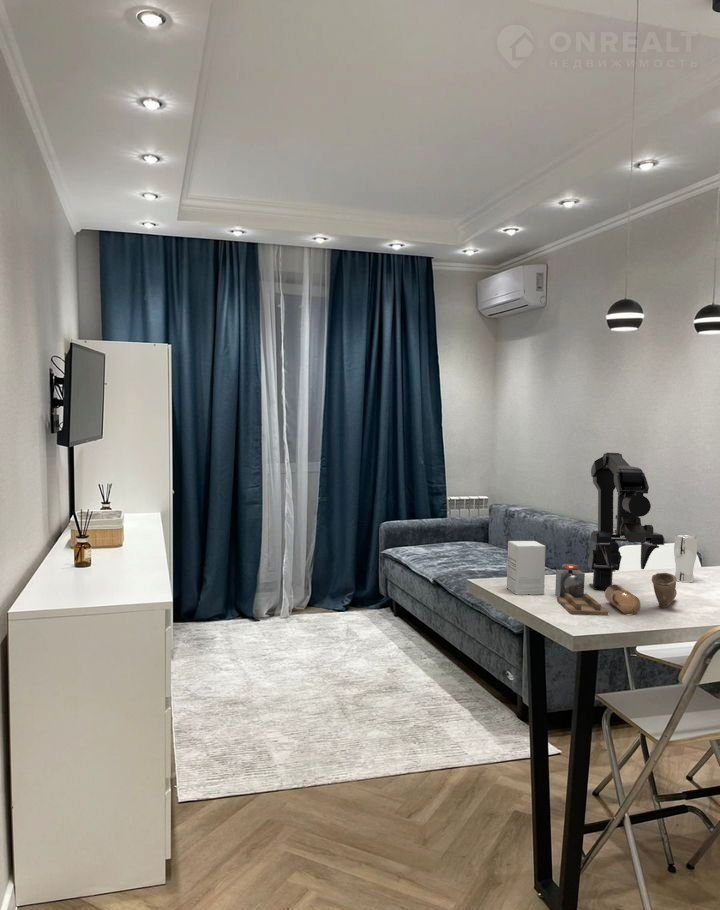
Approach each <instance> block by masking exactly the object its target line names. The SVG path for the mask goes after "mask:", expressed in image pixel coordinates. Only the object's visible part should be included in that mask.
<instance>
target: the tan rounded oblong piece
mask: <svg viewBox="0 0 720 910" xmlns="http://www.w3.org/2000/svg"><path fill="white" fill-rule="evenodd" d="M604 591H605V592H604V597H605V599H606V601H607V602H609V603H610V604H611V605H612V606H614V607H615V608H616V609H618V610H619V611H621V612H622V613H623V614H624V615H626V614H634V615H635V614H637V613H639V611H640V609H641V605H642V604H641V601H640V598H638V597H637V596H636V595H634V594H633V593H631V592H629V590H627V589H625V588H624V587H622V586H621V585H619V584H616V583H614V584H612V585H610V586H609V587H608V588H607V589H606V590H604Z"/></svg>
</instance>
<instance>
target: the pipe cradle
mask: <svg viewBox="0 0 720 910" xmlns="http://www.w3.org/2000/svg"><path fill="white" fill-rule="evenodd" d="M556 601H557V603H558V604H560V605H561V606H562V607H563V609H565V611H567V612H568V613H569V614H570V615H579V616H583V615H584V616H609V611H608V610H607V609H606V608H604V607H603V605H602V606H601V604H600V603H599V602H598V601H597V600H595V598H594V597H591V596H590V595H589V594H588V593H584V594H583V597H582V598H574V597H573V596H571V595H570V594H569V593H565V596H564V598H558V597H557V596H556Z"/></svg>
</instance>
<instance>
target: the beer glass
mask: <svg viewBox="0 0 720 910" xmlns="http://www.w3.org/2000/svg"><path fill="white" fill-rule="evenodd" d="M697 553H698V537H697V536H694V535H688V534H675V536H674V546H673V557H674V563H675V572H674V576H675V577H676V579H677V581H676V582H679V583H684V582H685V583H687V584H690V582H692V583H694V582H695V579H694V568H695V563H696V560H697V559H696V558H697Z"/></svg>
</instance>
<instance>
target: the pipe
mask: <svg viewBox="0 0 720 910" xmlns="http://www.w3.org/2000/svg"><path fill="white" fill-rule="evenodd" d="M651 576H652V577H651V582H652V586H653V590H654V596H655V597H656V600H657V603H658V605H659V607H660V608H662V609H666V608H667V607H668V606H670V605H671V604H672V602H673V601H674V600H675V599H676V597H677V589H676V587H677V582H678V581H677V579H676V577H675V574H672V573H669V572H656V573H655V574H653V575H651Z"/></svg>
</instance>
